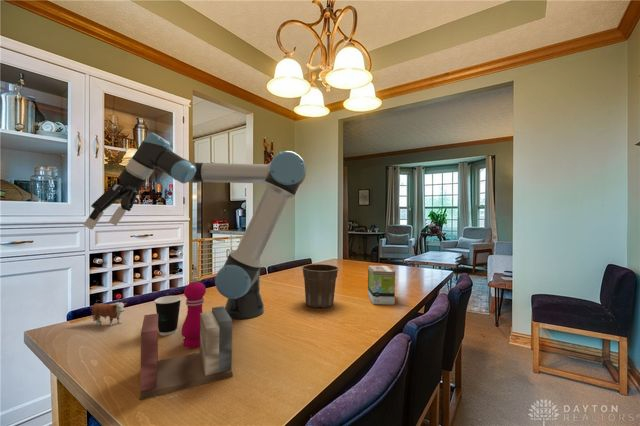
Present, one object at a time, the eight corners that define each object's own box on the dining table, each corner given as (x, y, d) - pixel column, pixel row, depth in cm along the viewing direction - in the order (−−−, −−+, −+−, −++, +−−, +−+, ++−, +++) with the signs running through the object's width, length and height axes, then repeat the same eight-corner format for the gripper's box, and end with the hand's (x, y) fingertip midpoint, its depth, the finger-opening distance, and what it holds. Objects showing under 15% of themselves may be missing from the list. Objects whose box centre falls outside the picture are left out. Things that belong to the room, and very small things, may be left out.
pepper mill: (186, 339, 90) (187, 274, 90) (210, 338, 91) (211, 274, 91) (177, 349, 83) (177, 280, 83) (203, 349, 83) (203, 279, 84)
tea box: (395, 305, 126) (395, 271, 126) (372, 304, 126) (372, 270, 126) (387, 295, 141) (388, 264, 141) (367, 295, 141) (367, 264, 141)
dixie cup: (152, 339, 90) (152, 303, 90) (155, 329, 97) (155, 297, 97) (180, 335, 93) (181, 301, 93) (181, 326, 100) (182, 294, 100)
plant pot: (345, 302, 129) (345, 266, 129) (326, 312, 115) (326, 272, 115) (314, 296, 138) (315, 262, 138) (294, 305, 124) (294, 267, 124)
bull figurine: (120, 328, 98) (120, 304, 98) (87, 325, 101) (88, 301, 101) (131, 323, 102) (131, 300, 102) (99, 320, 105) (99, 298, 105)
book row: (222, 351, 82) (222, 303, 82) (232, 376, 70) (233, 319, 70) (144, 368, 73) (144, 313, 73) (139, 399, 61) (140, 334, 61)
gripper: (143, 171, 112) (112, 216, 111) (103, 163, 87) (63, 222, 87) (160, 182, 113) (129, 227, 112) (126, 177, 88) (86, 235, 88)
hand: (100, 225), depth 99 cm, fingers open, 13 cm apart
